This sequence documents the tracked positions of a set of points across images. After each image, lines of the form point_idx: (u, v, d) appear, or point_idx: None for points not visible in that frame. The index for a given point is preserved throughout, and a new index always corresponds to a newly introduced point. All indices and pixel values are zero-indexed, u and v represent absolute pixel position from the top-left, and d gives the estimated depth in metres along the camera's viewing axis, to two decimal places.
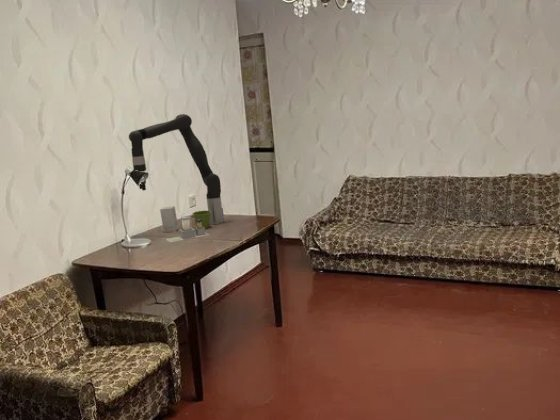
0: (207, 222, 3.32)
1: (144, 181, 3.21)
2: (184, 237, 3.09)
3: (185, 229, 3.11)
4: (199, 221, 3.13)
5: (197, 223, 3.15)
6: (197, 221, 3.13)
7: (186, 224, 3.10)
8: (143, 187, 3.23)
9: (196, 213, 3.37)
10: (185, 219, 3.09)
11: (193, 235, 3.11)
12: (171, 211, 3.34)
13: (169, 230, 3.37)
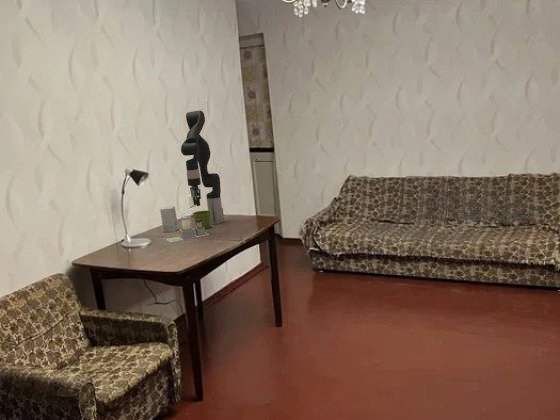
0: (207, 222, 3.32)
1: (199, 196, 3.08)
2: (184, 237, 3.09)
3: (185, 229, 3.11)
4: (199, 221, 3.13)
5: (197, 223, 3.15)
6: (197, 221, 3.13)
7: (186, 224, 3.10)
8: (198, 203, 3.09)
9: (196, 213, 3.37)
10: (185, 219, 3.09)
11: (193, 235, 3.11)
12: (171, 211, 3.34)
13: (169, 230, 3.37)
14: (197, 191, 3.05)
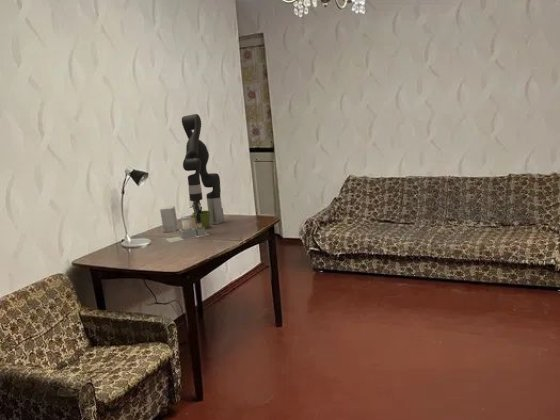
0: (207, 222, 3.32)
1: None
2: (184, 237, 3.09)
3: (185, 229, 3.11)
4: (199, 222, 3.14)
5: (197, 224, 3.15)
6: (197, 222, 3.14)
7: (186, 224, 3.10)
8: (198, 218, 3.13)
9: None
10: (185, 219, 3.09)
11: (193, 235, 3.11)
12: (171, 211, 3.34)
13: (169, 230, 3.37)
14: (199, 208, 3.08)
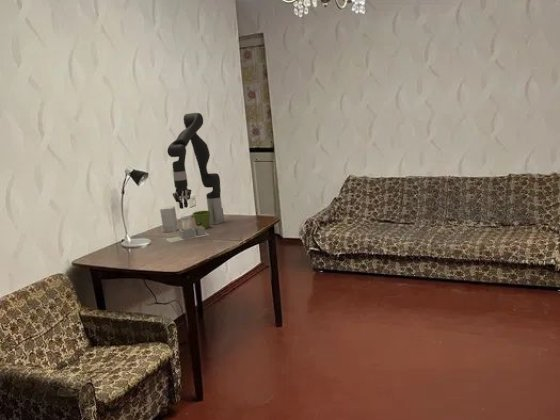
0: (207, 222, 3.32)
1: None
2: (184, 237, 3.09)
3: (185, 229, 3.11)
4: (199, 224, 3.14)
5: (197, 226, 3.15)
6: (197, 224, 3.14)
7: (186, 224, 3.10)
8: (179, 205, 3.08)
9: (196, 213, 3.37)
10: (185, 219, 3.09)
11: (193, 235, 3.11)
12: (171, 211, 3.34)
13: (169, 230, 3.37)
14: (173, 195, 3.04)
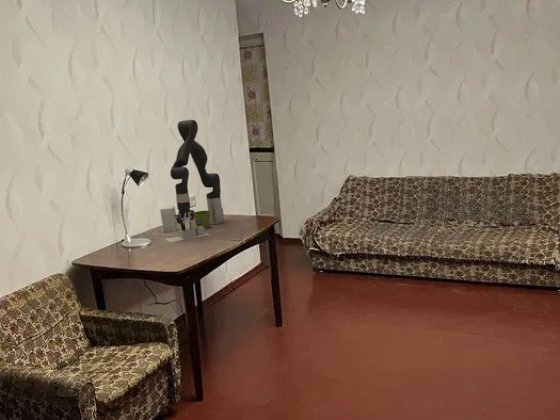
0: (207, 222, 3.32)
1: None
2: (184, 237, 3.09)
3: (185, 229, 3.11)
4: (199, 224, 3.14)
5: (197, 226, 3.15)
6: (197, 224, 3.14)
7: (186, 224, 3.10)
8: (181, 227, 3.10)
9: (196, 213, 3.37)
10: (185, 219, 3.09)
11: (193, 235, 3.11)
12: (171, 211, 3.34)
13: (169, 230, 3.37)
14: (176, 216, 3.06)
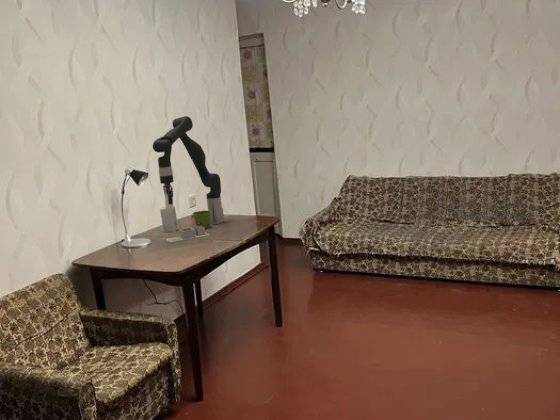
0: (207, 222, 3.32)
1: (171, 195, 3.01)
2: (184, 237, 3.09)
3: None
4: (199, 224, 3.14)
5: (197, 226, 3.15)
6: (197, 224, 3.14)
7: (172, 198, 3.05)
8: (170, 201, 3.03)
9: (196, 213, 3.37)
10: None
11: (193, 235, 3.11)
12: None
13: (169, 230, 3.37)
14: (169, 189, 2.98)
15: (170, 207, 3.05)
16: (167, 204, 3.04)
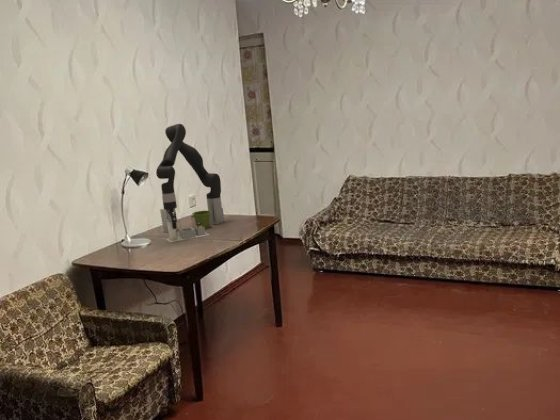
0: (207, 222, 3.32)
1: (175, 219, 3.02)
2: (184, 237, 3.09)
3: (174, 231, 3.08)
4: (199, 224, 3.14)
5: (197, 226, 3.15)
6: (197, 224, 3.14)
7: None
8: (174, 226, 3.04)
9: (196, 213, 3.37)
10: None
11: (193, 235, 3.11)
12: None
13: None
14: (172, 213, 3.01)
15: (173, 234, 3.08)
16: (170, 232, 3.07)
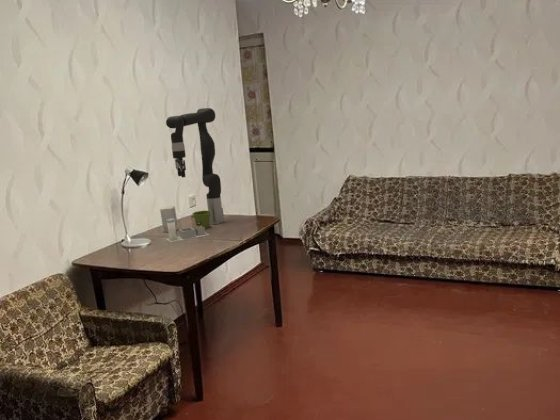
0: (207, 222, 3.32)
1: (184, 168, 3.12)
2: (184, 237, 3.09)
3: (174, 231, 3.08)
4: (199, 224, 3.14)
5: (197, 226, 3.15)
6: (197, 224, 3.14)
7: (174, 225, 3.08)
8: (183, 174, 3.14)
9: (196, 213, 3.37)
10: (173, 220, 3.07)
11: (193, 235, 3.11)
12: (171, 211, 3.34)
13: None
14: (181, 161, 3.11)
15: (173, 234, 3.08)
16: (170, 232, 3.07)
